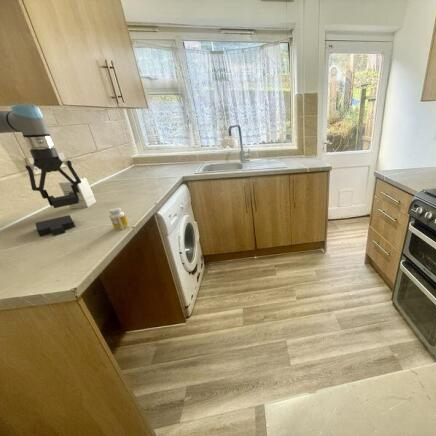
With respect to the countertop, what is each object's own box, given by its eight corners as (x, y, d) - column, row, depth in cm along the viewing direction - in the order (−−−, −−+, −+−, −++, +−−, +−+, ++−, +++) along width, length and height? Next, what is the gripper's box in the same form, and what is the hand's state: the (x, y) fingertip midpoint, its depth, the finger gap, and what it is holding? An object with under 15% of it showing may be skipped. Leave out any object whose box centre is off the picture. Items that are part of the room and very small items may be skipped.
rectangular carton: (80, 203, 142) (68, 178, 135) (96, 202, 143) (86, 177, 137) (70, 209, 134) (57, 183, 127) (88, 207, 135) (76, 181, 129)
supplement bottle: (127, 225, 112) (120, 205, 108) (130, 228, 108) (123, 208, 104) (114, 229, 109) (106, 209, 105) (116, 233, 105) (108, 212, 101)
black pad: (51, 202, 105) (48, 196, 104) (74, 198, 111) (72, 191, 109) (54, 208, 99) (51, 201, 98) (79, 203, 104) (76, 196, 103)
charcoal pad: (38, 228, 111) (35, 222, 110) (71, 220, 119) (69, 214, 118) (40, 239, 101) (37, 233, 100) (77, 230, 109) (74, 224, 108)
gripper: (3, 152, 86) (31, 211, 95) (77, 145, 100) (96, 198, 109) (3, 150, 91) (30, 207, 100) (74, 144, 105) (92, 194, 114)
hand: (64, 202), depth 105 cm, fingers closed on black pad, 8 cm apart
